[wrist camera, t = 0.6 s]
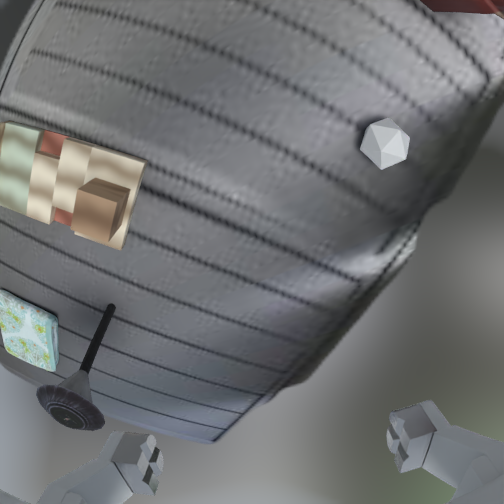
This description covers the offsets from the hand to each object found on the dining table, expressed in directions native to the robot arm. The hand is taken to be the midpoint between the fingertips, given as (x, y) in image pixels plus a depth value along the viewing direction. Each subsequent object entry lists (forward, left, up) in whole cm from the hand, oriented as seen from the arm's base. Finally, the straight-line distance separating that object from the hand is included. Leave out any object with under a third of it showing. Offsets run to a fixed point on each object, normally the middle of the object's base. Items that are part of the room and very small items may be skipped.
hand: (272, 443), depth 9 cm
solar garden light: (+38, -14, -49) cm, 63 cm away
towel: (+56, -36, -49) cm, 83 cm away
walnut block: (+13, -19, -46) cm, 51 cm away
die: (-14, +22, -49) cm, 55 cm away
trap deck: (+13, -30, -48) cm, 59 cm away
